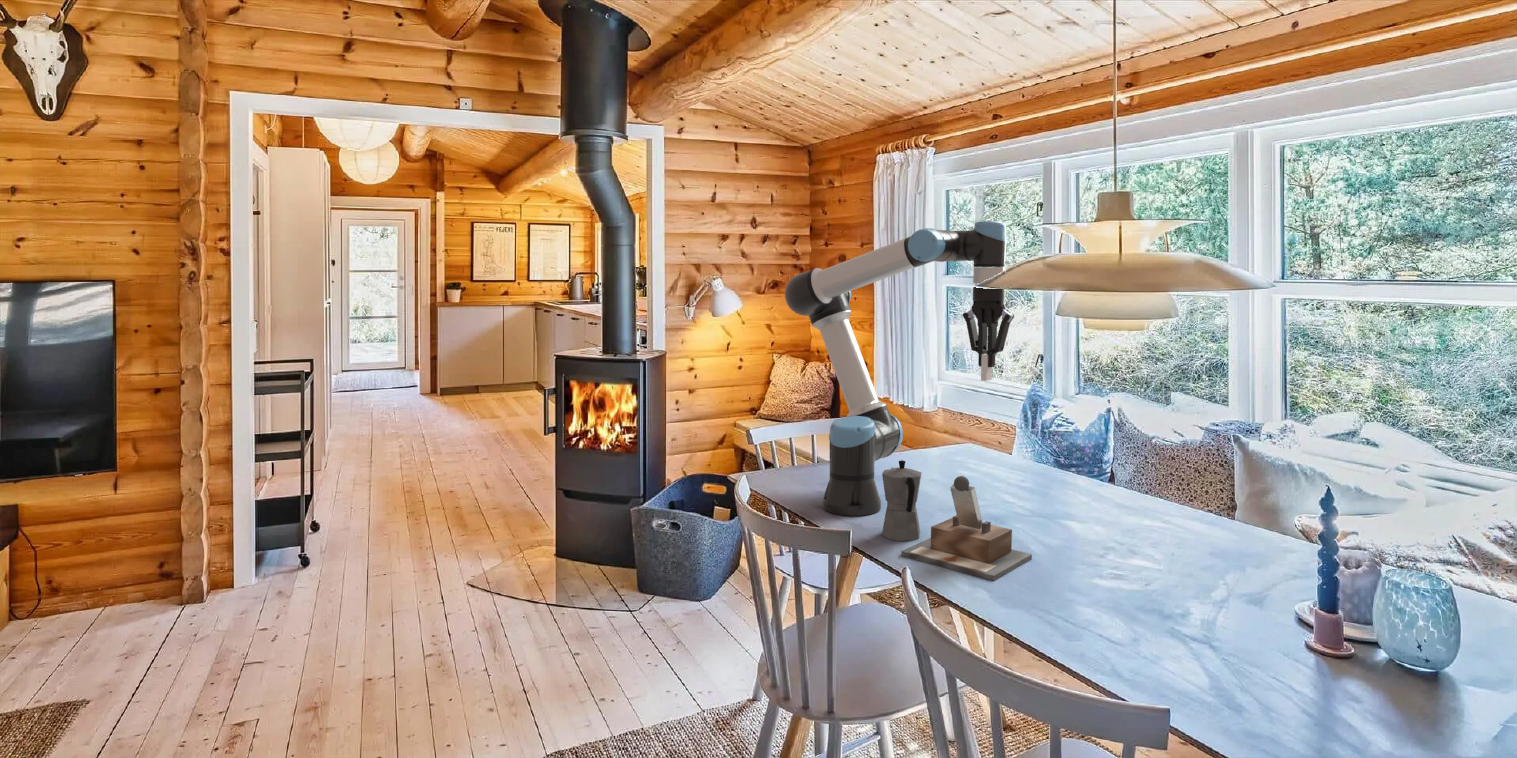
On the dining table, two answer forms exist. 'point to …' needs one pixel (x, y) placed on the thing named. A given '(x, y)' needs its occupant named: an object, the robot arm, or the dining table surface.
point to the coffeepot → (901, 503)
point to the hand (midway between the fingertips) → (986, 379)
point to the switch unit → (969, 549)
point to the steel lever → (966, 503)
